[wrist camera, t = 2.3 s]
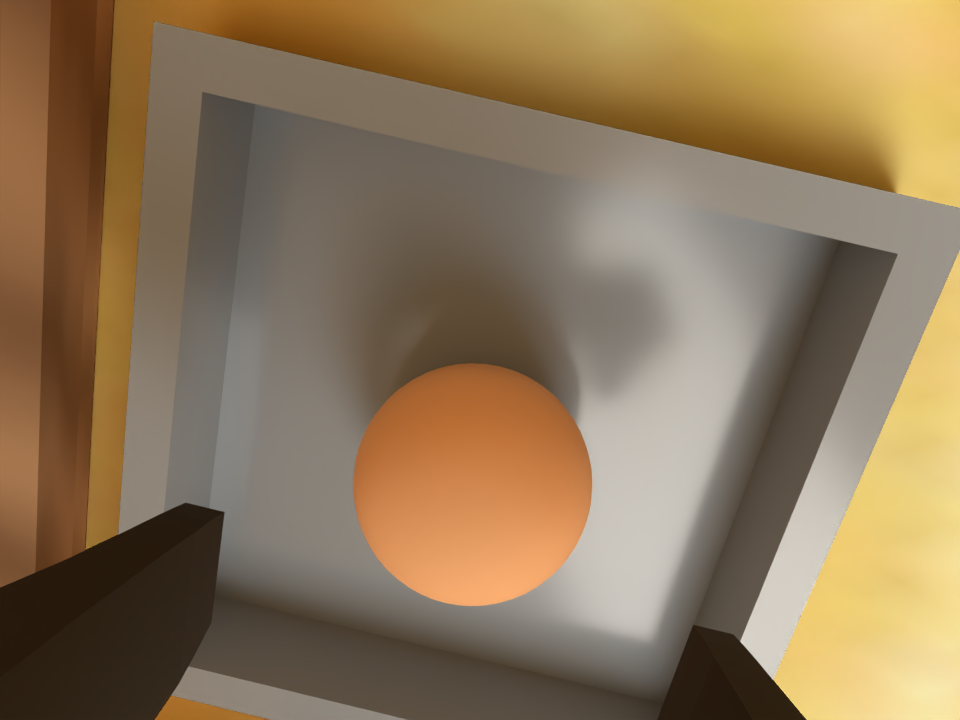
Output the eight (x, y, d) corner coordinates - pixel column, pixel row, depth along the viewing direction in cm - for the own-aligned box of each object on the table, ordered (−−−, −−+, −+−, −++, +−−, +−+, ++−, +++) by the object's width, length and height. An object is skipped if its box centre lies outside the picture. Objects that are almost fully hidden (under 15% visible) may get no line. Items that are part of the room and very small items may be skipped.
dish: (686, 729, 20) (709, 826, 18) (168, 603, 21) (108, 680, 18) (897, 196, 16) (976, 212, 13) (223, 40, 16) (153, 21, 13)
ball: (557, 544, 18) (561, 688, 14) (365, 499, 19) (305, 626, 14) (610, 363, 17) (635, 454, 12) (401, 313, 17) (346, 385, 12)
